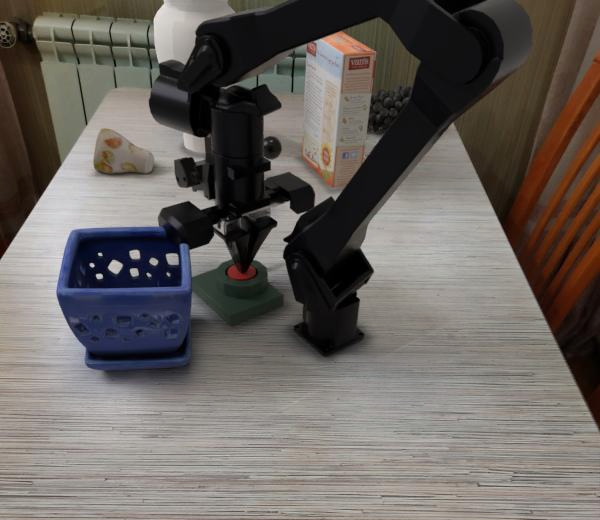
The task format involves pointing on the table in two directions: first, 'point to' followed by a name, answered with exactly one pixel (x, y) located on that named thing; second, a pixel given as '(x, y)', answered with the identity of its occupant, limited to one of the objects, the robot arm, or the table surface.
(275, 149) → the lever
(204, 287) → the control block
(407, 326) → the table surface
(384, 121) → the fruit
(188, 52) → the vase
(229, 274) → the button
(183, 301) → the flower pot
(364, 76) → the cracker box
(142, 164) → the white tapered piece
